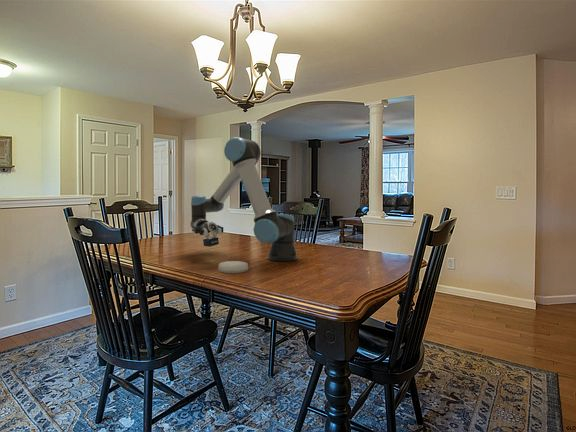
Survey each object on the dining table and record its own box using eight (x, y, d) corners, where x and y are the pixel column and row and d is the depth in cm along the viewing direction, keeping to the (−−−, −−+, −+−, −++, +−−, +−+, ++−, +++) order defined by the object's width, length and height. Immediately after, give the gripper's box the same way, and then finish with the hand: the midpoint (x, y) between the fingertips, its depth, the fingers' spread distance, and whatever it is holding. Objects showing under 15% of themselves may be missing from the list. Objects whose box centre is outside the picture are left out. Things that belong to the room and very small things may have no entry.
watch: (212, 247, 167) (210, 223, 165) (201, 245, 171) (198, 222, 170) (221, 244, 171) (219, 221, 169) (210, 243, 176) (207, 220, 174)
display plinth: (246, 266, 171) (246, 260, 171) (248, 272, 158) (248, 267, 158) (218, 266, 169) (218, 261, 169) (218, 273, 156) (218, 267, 156)
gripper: (220, 233, 191) (233, 239, 170) (184, 235, 183) (192, 241, 162) (220, 218, 190) (233, 223, 169) (183, 220, 182) (192, 224, 161)
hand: (213, 232), depth 166 cm, fingers closed on watch, 6 cm apart
